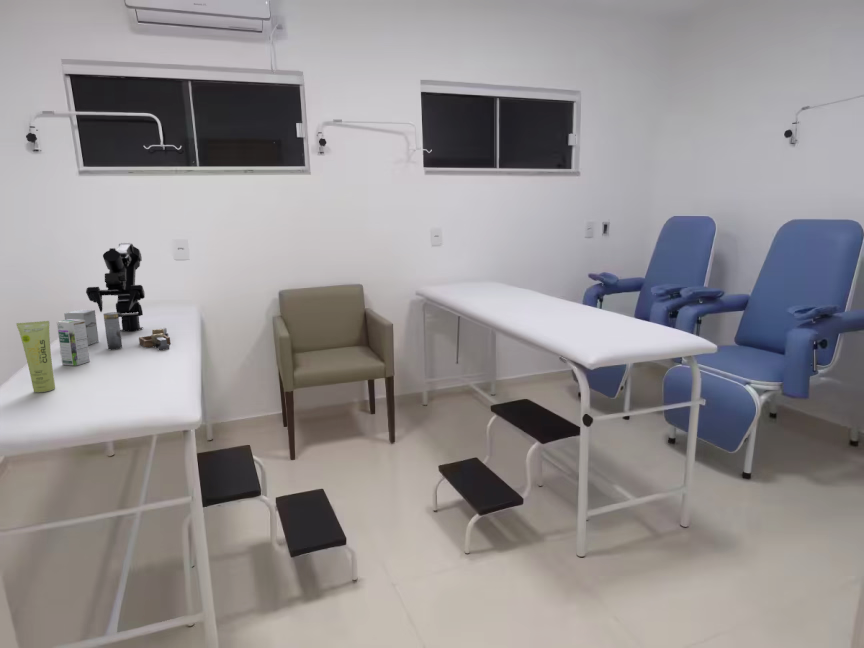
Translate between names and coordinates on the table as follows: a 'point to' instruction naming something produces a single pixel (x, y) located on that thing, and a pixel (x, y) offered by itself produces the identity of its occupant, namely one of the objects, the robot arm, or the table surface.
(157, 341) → the grey and wooden pieces
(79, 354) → the syrup box
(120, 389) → the table surface
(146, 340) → the hollow wooden square frame
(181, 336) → the table surface
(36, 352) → the tube
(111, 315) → the grey cylinder
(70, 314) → the supplement box
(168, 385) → the table surface
